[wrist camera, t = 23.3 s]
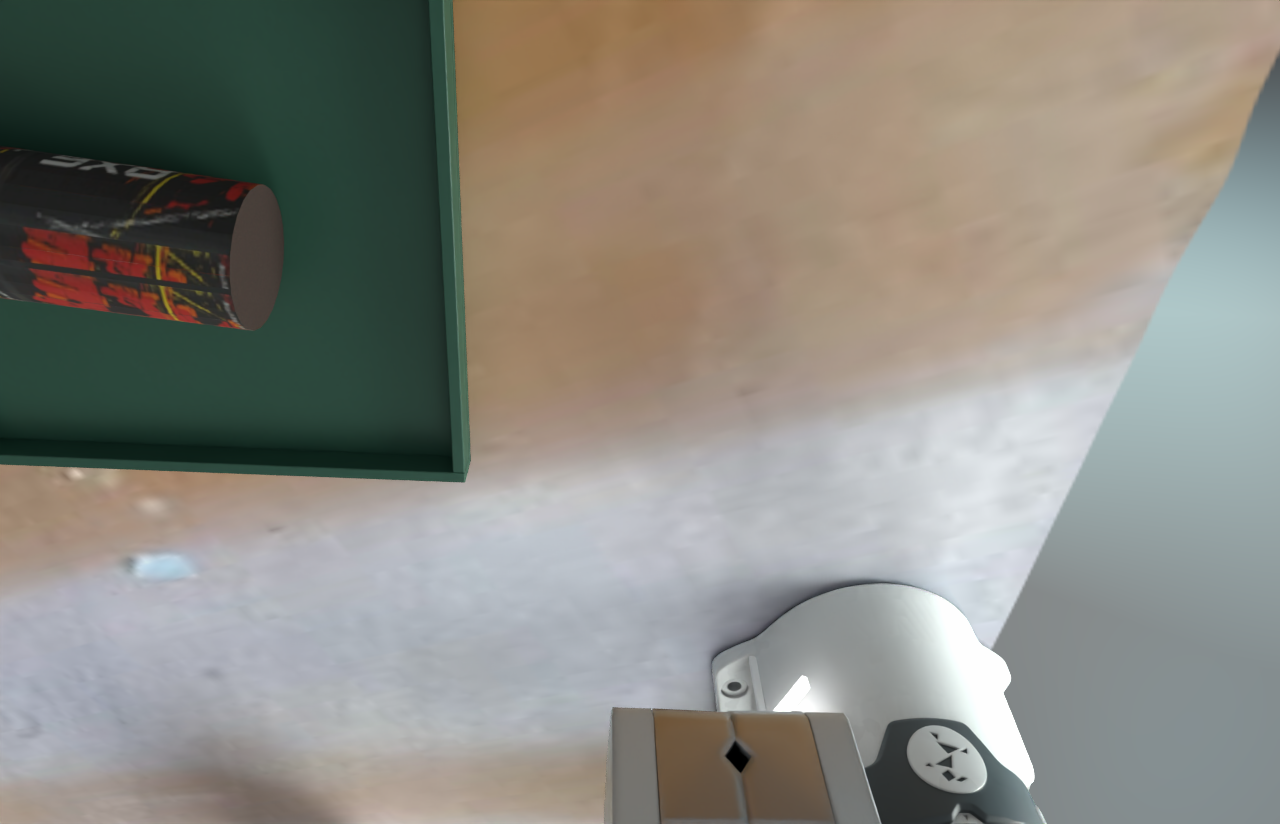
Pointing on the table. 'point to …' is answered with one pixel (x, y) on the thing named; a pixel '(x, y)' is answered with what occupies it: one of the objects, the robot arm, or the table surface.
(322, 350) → the tray
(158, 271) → the deodorant
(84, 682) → the table surface
